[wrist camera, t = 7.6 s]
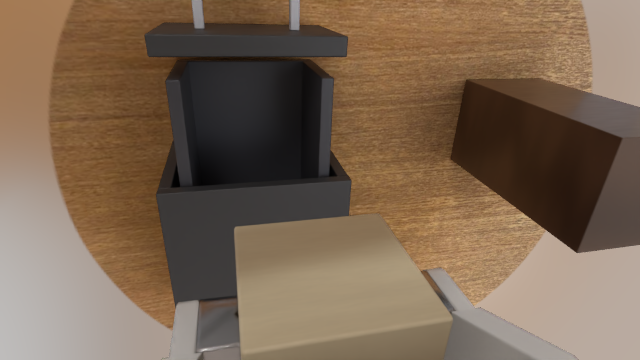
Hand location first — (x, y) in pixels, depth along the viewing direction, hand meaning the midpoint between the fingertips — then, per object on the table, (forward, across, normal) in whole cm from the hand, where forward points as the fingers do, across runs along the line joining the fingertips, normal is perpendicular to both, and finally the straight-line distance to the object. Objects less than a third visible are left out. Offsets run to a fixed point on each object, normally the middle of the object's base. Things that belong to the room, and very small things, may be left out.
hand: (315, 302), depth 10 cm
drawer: (+24, 0, 0) cm, 24 cm away
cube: (+1, 0, 0) cm, 1 cm away
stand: (+25, -24, +3) cm, 34 cm away
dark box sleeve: (+25, 0, +11) cm, 27 cm away
